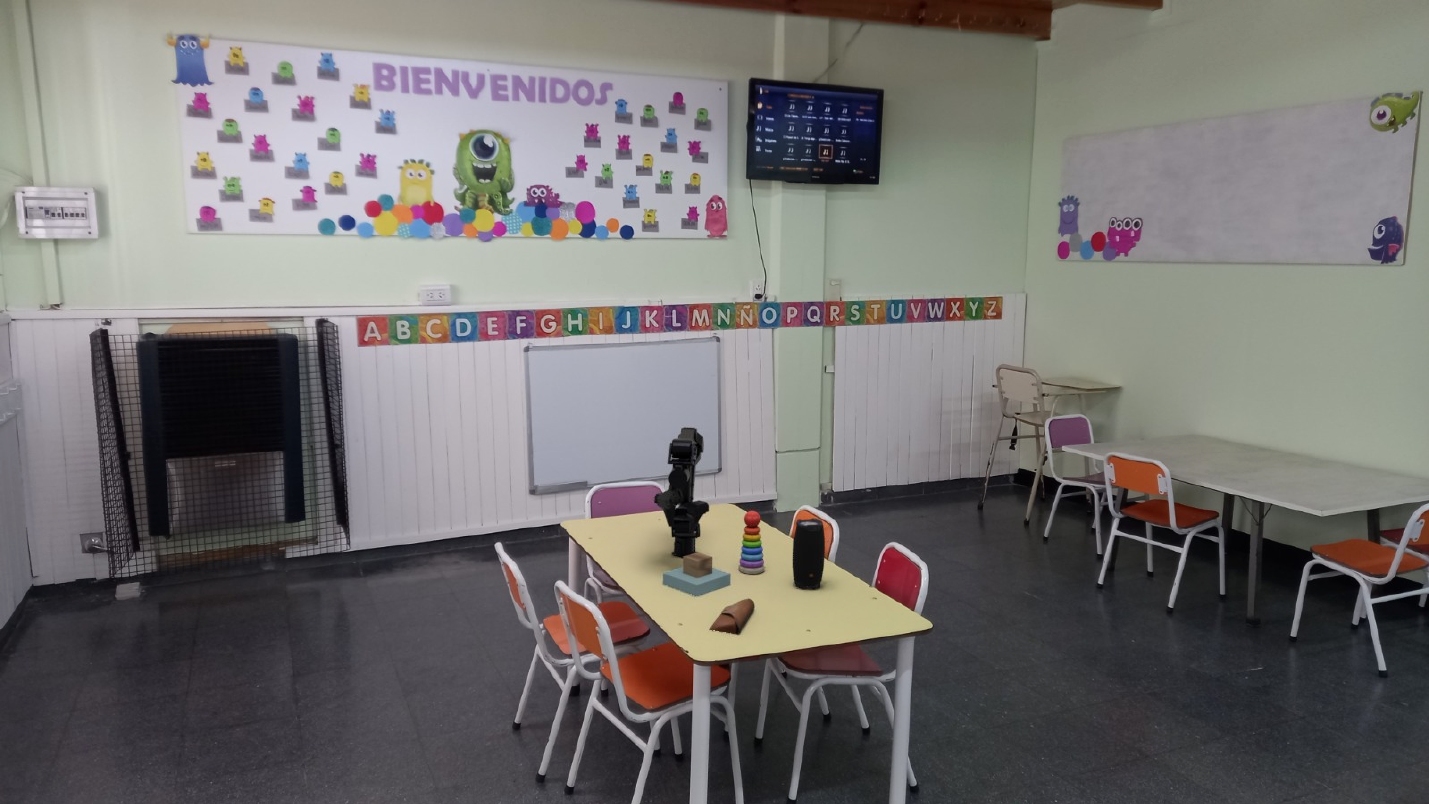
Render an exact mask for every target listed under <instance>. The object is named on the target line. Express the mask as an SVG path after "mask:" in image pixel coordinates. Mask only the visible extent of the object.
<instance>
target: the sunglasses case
mask: <svg viewBox="0 0 1429 804" xmlns="http://www.w3.org/2000/svg"><path fill="white" fill-rule="evenodd" d="M755 607H756V606H755V603H754V600H753V599H751V598H745V599H741V600H739V601H737V602H736V603H733V604H731V605H728V606H725V607H724V608H723V609H722V611H721V612H720V614H719V615H718V617H716V619H715V620H714V622H712V624H711V626H710V627H709V629H708V630H709V631H710V630H715V631H714V632H716V631H719V632H718V633H723V632H726V633H725V634H730V633H731V634H730V635H737V636H738V635H739V634H740V633H741V632H742V629H743V628H744V626H745V624H746V622H747V621H748V619H749V618H750V615H751V614H752V612H753V611H754V610H755Z"/></svg>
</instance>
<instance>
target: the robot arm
mask: <svg viewBox="0 0 1429 804" xmlns="http://www.w3.org/2000/svg"><path fill="white" fill-rule="evenodd" d="M680 428H681V429H680V433H679V434H678V435H677V438H673V439H672V440H671V442H669V446H668V454H667V455H668V456H667V465H672V469H671V470H670V472H669V474H668V478H667V481H668V489H667V490H665V491H662V492H659V493H658V492H657V493H656V494H655V496H654V498H653V499H654V504H656V505H657V507H658V508H660V509H661V510H662V511H663V513H664V517H665V519H666V522H667V525H668V527H669V528H671V529H670V530H671V534H670V535H671V538H674V541H673V542H674V543H673V545H674V546H673V551H671V552H670V553H671V555H674V556H677V557H679V558H682V559H683V557H684V556H687V555H690V554H694V553H697V552H698V551H696V539H698V538H701V524H700V520H701V519H702V517H703V515H704V514H706V513H708V512H710V504H709V503H708V502H707V501H704V500H700V499H698V500H695V499H694V498H695V497H694V495H695V494H694V493H695V479H696V467H697V465H698V463H699V462H700V460H701V459H702V453H704V449H705V447H704V446H705V445H704V443H705V441H704V437H703V435H701V434H700V433H699V432H698V428H695V427H688V426H687V427H686V426H685V427H680ZM694 500H695V501H694ZM677 506H678V507H677Z"/></svg>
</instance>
